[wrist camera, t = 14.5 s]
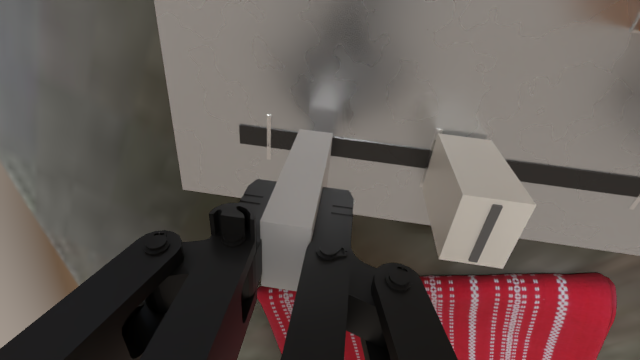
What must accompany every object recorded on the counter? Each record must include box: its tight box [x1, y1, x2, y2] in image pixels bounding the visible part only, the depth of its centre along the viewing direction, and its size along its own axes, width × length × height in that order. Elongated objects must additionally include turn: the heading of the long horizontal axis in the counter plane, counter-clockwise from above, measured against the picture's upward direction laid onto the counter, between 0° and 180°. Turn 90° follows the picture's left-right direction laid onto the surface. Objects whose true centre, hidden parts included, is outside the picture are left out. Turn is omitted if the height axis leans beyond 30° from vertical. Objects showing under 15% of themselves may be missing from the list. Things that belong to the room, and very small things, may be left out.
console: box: [154, 0, 640, 256], centre depth 15 cm, size 16×28×2 cm, turn 85°
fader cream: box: [422, 133, 536, 269], centre depth 14 cm, size 3×2×5 cm
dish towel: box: [257, 273, 617, 360], centre depth 27 cm, size 17×24×3 cm
